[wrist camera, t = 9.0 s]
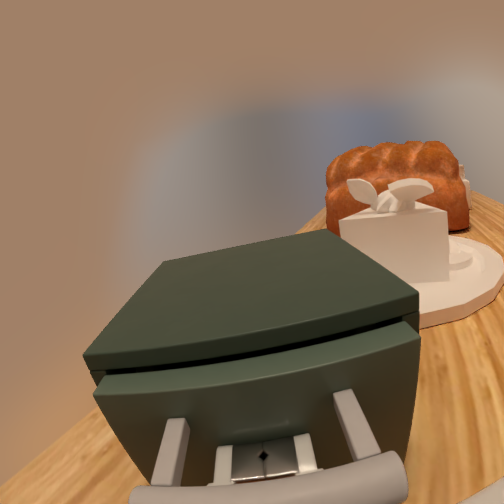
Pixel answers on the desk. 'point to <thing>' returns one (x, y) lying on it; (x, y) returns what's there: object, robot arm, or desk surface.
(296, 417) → the drawer
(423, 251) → the dish
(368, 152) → the bread
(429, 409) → the desk surface
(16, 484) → the desk surface
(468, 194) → the pepper shaker
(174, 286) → the cabinet
